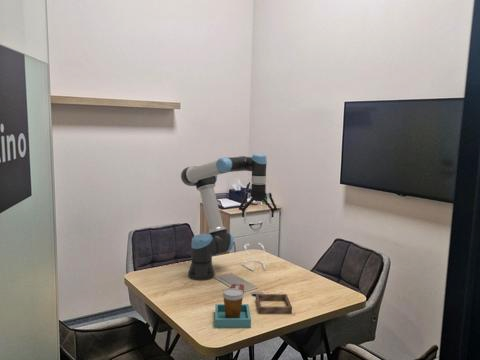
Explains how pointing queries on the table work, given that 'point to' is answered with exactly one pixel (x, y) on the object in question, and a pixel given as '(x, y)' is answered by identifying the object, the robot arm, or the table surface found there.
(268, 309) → the walnut cup stand
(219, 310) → the teal tray
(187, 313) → the table surface
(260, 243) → the earphone
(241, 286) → the walkie-talkie
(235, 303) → the disposable coffee cup
